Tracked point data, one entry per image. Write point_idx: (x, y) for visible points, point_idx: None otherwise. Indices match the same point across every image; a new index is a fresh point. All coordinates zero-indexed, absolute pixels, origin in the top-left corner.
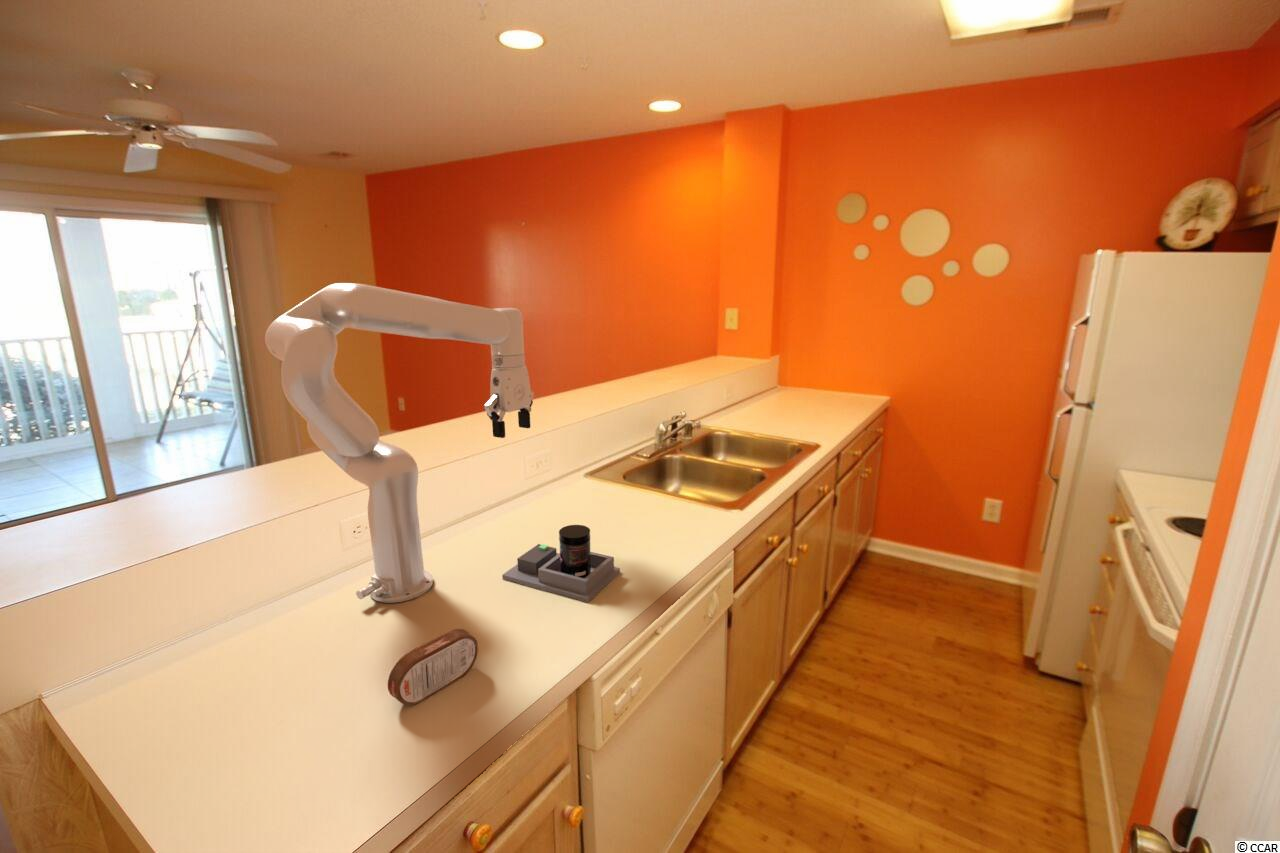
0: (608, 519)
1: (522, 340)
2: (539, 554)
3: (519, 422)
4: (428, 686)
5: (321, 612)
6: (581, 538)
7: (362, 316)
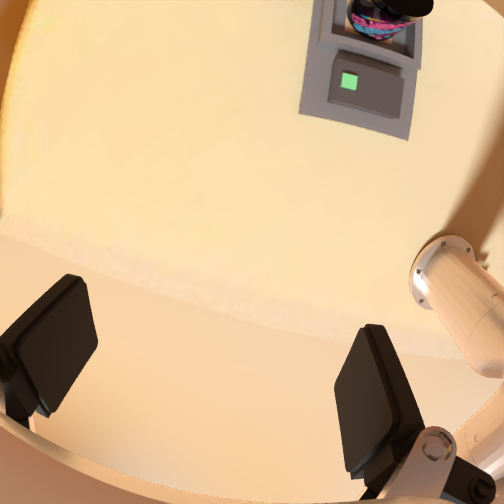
0: (114, 65)
1: None
2: (373, 81)
3: (83, 358)
4: None
5: None
6: None
7: None
